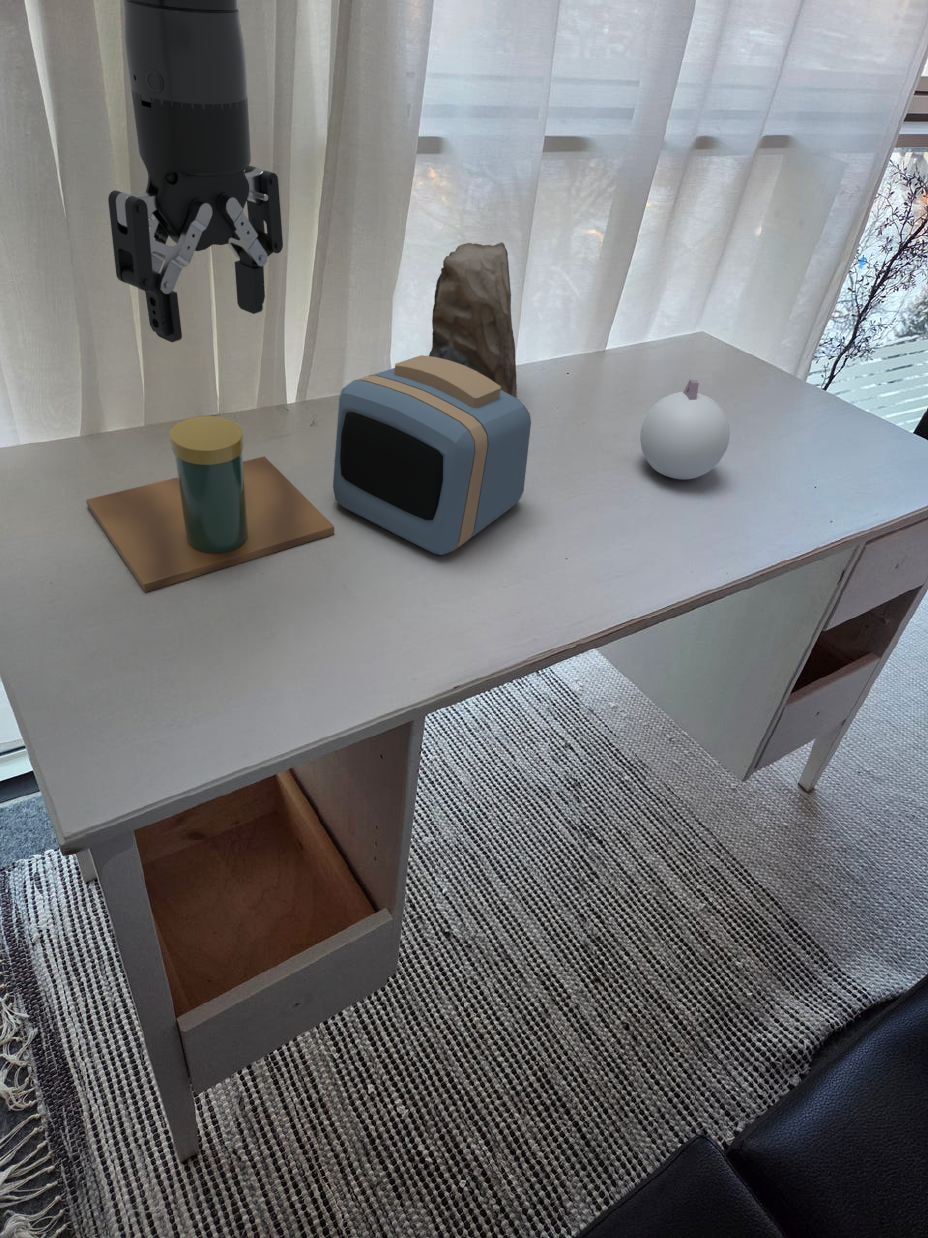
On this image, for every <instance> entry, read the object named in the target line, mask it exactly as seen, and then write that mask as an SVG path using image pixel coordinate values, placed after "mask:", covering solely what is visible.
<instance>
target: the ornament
mask: <svg viewBox="0 0 928 1238" xmlns="http://www.w3.org/2000/svg"><path fill="white" fill-rule="evenodd" d="M699 385H700V382H699V381H698V379H689V380H688V382H687V384H686V386H685V387H684V390H683V391H679V392H675V393H670V394H668V395H666V396H664V397H662V398H661V399H660V400H658V401H657V402H656V403H655V404H654V405H653V406H652V407H651V408H650V409H649V411H648V412H647V413H646V415H645V417H644V420H643V422H642V425H641V429H640V437H639V439H640V447H641V451H642V454H643V456H644V458H645V460H646V462H647V463H648V464H649V465H650V466H651V468H652V469H654V470H655V471H656V472H658V474H661V475H663V476H665V477H667V478H671V479H675V480H691V479H696V478H699V477H702V476H703V475H706V474H707V473H709V472H711V470H713V469H714V468H715V467H716V466H717V465H718V464H719V463H720V462H721V460H722V459H723V457H724V456H725V453H726V451H727V449H728V447H729V442H730V435H731V434H730V433H731V432H730V430H731V429H730V423H729V420H728V417H727V415H726V413H725V411H724V410H723V408H722V407H721V406H720V404H718V403H717V402H716V401H715V400H714V399H712V398H711V397H709V396H707V395H705V394H702V393H699V391H698V390H699Z"/></svg>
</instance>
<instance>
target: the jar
mask: <svg viewBox="0 0 928 1238" xmlns="http://www.w3.org/2000/svg"><path fill="white" fill-rule="evenodd" d="M169 438H170V439H169V440H170V444H171V451H172V453H173V455H174V458H175V467H176V473H177V477H178V481H179V489H180V496H181V503H182V511H183V518H184V526H185V533H186V540H187V542H188V544H189V545H190V546H191V547H193V548H194V549H196V550H198V551H201V552H205V553H213V554H216V553H226V552H230V551H233V550H235V549H238V548H239V547H241V546H242V545H243V544H244V543H245V542H246V541H247V539H248V523H247V509H246V496H245V483H244V470H243V461H244V459H243V451H244V449H245V443H244V442H245V441H244V431H243V429H242V427H241V426H240V424H238V423H236V422H235V421H233V420H231V419H228V418H224V417H221V416H209V415H206V416H196V417H195V416H194V417H190V418H186V419H184V420H181V421H179V422H177V423H176V424H175V425H173V426H172V427H171V429H170V432H169Z"/></svg>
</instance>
